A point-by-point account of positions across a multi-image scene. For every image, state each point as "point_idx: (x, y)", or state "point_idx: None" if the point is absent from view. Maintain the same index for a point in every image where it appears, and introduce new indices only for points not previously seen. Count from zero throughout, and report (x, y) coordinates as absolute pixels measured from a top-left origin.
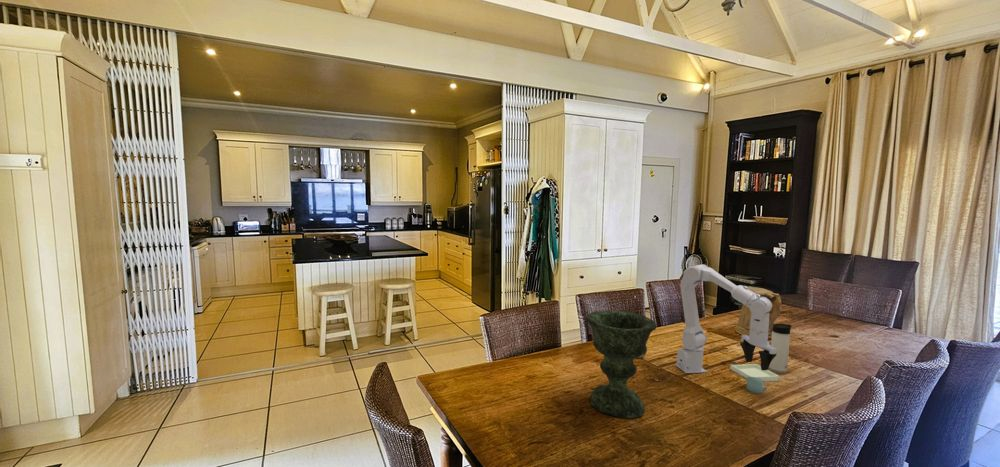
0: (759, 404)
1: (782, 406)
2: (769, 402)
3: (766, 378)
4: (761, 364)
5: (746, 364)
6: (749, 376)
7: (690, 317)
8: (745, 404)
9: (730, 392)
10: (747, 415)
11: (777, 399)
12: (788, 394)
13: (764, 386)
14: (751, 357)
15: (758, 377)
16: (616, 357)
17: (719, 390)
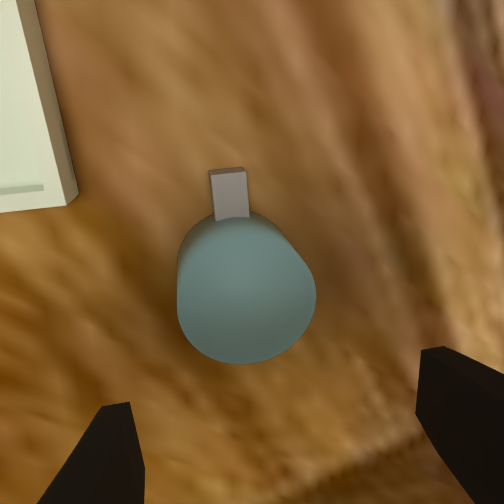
0: None
1: (474, 223)
2: (415, 274)
3: (23, 7)
4: (484, 495)
5: None
6: (24, 207)
7: None
8: (409, 421)
9: (265, 435)
10: None
11: (389, 186)
12: (325, 7)
13: (230, 181)
14: (118, 473)
15: (48, 126)
16: None
17: (237, 482)
